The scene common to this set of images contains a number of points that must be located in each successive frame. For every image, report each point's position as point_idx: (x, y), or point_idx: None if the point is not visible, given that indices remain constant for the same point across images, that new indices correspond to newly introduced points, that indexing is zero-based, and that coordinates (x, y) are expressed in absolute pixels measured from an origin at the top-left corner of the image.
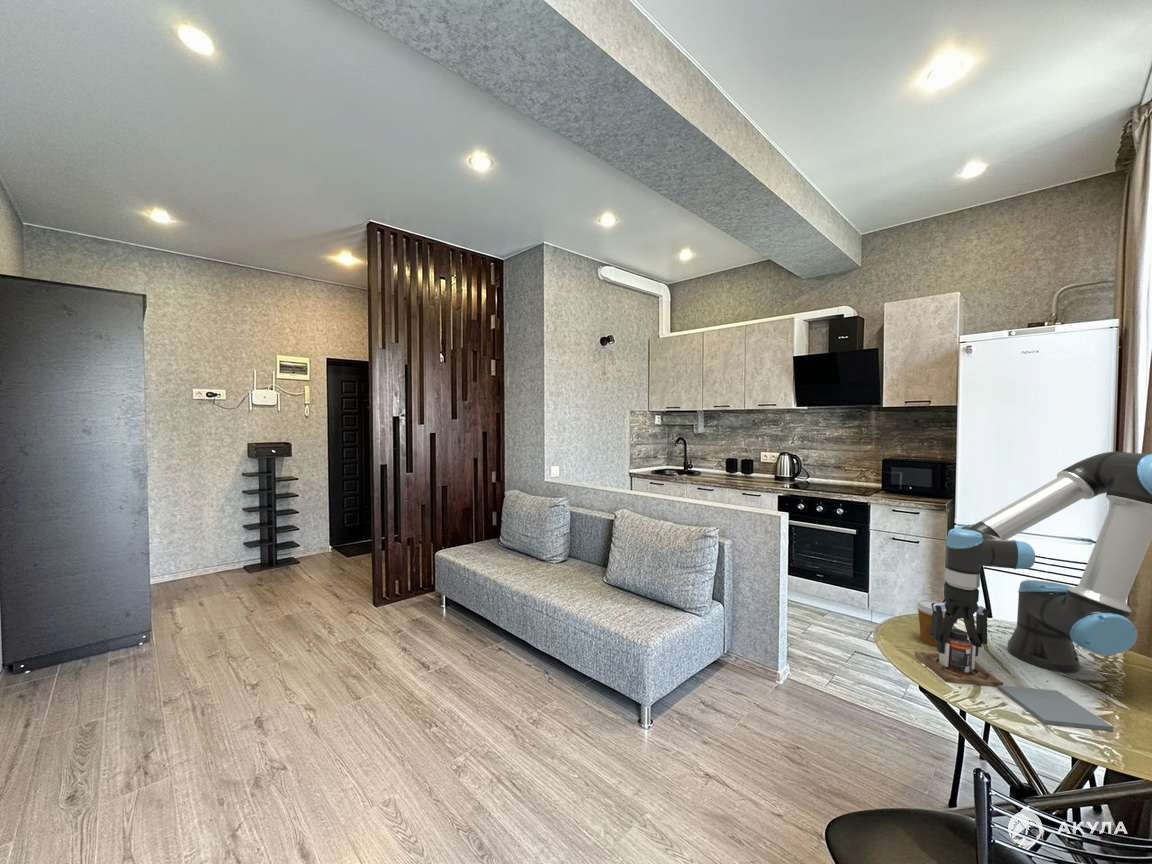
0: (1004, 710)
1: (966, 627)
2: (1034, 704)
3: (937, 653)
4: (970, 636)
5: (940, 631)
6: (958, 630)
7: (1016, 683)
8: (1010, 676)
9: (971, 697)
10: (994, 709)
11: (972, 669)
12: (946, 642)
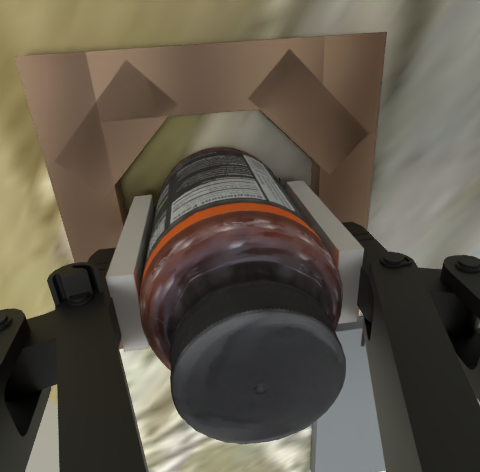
0: (234, 444)
1: (394, 380)
2: (356, 418)
3: (185, 50)
4: (375, 330)
5: (24, 462)
6: (276, 367)
7: (442, 251)
8: (475, 190)
9: (161, 409)
10: (203, 449)
11: (313, 188)
12: (138, 321)
